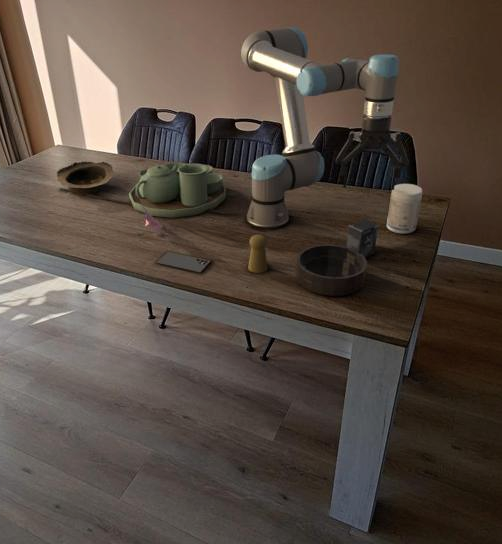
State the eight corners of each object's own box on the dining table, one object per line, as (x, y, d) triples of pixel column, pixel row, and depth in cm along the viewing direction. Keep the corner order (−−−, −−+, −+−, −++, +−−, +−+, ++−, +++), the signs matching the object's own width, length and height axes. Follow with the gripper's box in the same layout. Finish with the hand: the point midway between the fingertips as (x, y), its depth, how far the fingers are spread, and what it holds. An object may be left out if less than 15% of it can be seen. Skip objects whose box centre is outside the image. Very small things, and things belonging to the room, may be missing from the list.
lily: (151, 246, 176) (162, 223, 172) (123, 230, 178) (134, 206, 174) (163, 240, 187) (174, 218, 183) (137, 225, 189) (147, 203, 185)
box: (358, 261, 157) (362, 231, 151) (344, 254, 161) (347, 225, 155) (374, 253, 160) (379, 223, 155) (360, 247, 164) (364, 217, 159)
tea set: (240, 186, 215) (240, 148, 206) (199, 225, 185) (196, 183, 177) (160, 175, 231) (157, 140, 223) (110, 210, 202) (104, 171, 193)
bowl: (291, 293, 144) (293, 274, 141) (300, 259, 160) (301, 241, 157) (363, 301, 139) (366, 282, 135) (364, 266, 154) (367, 247, 151)
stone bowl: (87, 174, 238) (85, 155, 233) (127, 187, 226) (126, 168, 221) (47, 192, 221) (44, 172, 216) (88, 207, 209) (85, 186, 204)
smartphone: (168, 251, 169) (210, 259, 162) (168, 253, 169) (210, 261, 162) (156, 262, 163) (200, 271, 156) (156, 263, 164) (200, 272, 157)
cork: (246, 264, 160) (246, 233, 154) (265, 262, 160) (265, 231, 154) (250, 273, 155) (250, 242, 149) (269, 271, 155) (270, 240, 149)
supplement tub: (400, 220, 179) (407, 181, 171) (421, 230, 172) (430, 190, 164) (379, 226, 176) (385, 187, 168) (400, 237, 168) (408, 196, 161)
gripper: (330, 118, 140) (324, 189, 151) (427, 119, 133) (414, 194, 144) (331, 111, 146) (326, 180, 157) (424, 112, 139) (412, 184, 150)
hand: (368, 187), depth 151 cm, fingers open, 13 cm apart
